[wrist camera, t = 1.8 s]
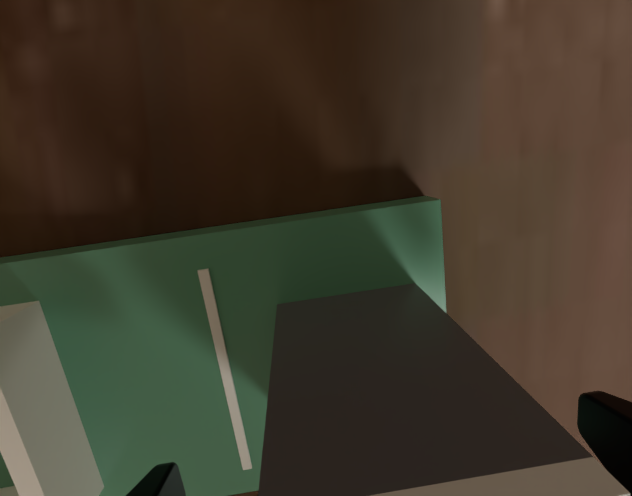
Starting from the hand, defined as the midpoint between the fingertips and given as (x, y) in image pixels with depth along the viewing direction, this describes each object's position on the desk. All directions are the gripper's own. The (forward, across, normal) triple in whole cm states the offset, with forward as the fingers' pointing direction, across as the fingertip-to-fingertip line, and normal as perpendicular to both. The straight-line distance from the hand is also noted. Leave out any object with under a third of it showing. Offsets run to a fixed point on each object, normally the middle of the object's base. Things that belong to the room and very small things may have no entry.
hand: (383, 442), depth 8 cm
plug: (+4, 0, 0) cm, 4 cm away
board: (+5, +7, 0) cm, 8 cm away
